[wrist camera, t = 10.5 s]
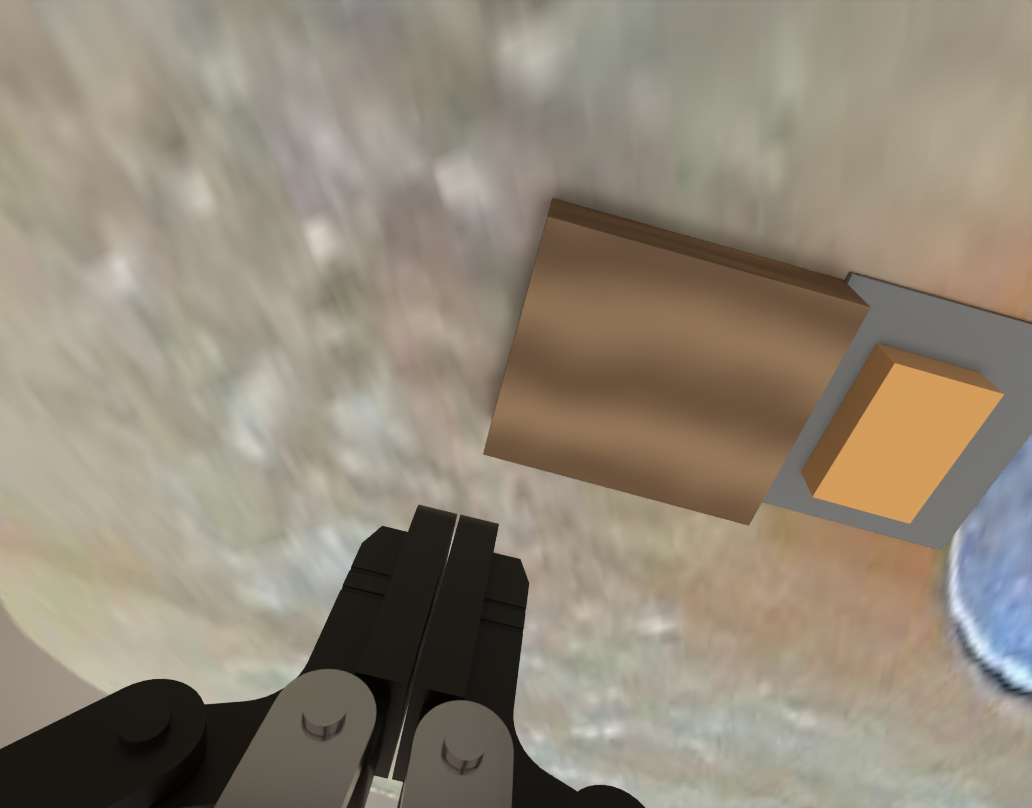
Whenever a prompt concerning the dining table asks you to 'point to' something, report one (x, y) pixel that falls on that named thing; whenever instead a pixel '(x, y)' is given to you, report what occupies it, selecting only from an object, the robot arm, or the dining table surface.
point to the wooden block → (666, 362)
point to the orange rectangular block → (898, 433)
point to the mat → (946, 338)
